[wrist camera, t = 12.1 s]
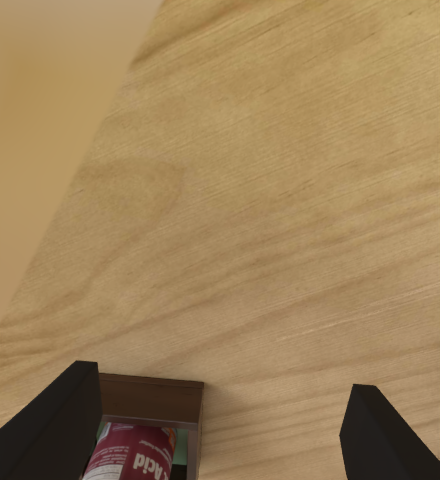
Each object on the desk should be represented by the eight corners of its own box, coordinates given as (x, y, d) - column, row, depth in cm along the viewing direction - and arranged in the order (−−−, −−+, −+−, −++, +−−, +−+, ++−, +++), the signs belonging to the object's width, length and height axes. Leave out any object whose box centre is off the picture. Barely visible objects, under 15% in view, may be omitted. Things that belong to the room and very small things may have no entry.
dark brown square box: (199, 462, 26) (194, 508, 23) (93, 453, 26) (76, 496, 23) (203, 382, 22) (198, 423, 20) (83, 371, 23) (61, 411, 20)
